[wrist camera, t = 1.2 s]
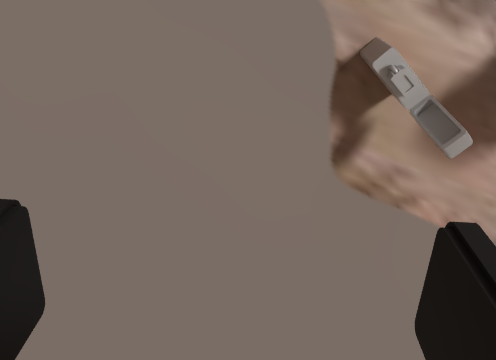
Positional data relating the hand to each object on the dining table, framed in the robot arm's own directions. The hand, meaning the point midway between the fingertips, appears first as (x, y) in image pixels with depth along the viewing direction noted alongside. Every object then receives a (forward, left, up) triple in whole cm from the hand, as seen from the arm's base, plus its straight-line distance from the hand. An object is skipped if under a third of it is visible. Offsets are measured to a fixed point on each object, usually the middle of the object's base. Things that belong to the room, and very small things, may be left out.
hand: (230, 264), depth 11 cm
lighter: (+1, +11, -26) cm, 28 cm away
